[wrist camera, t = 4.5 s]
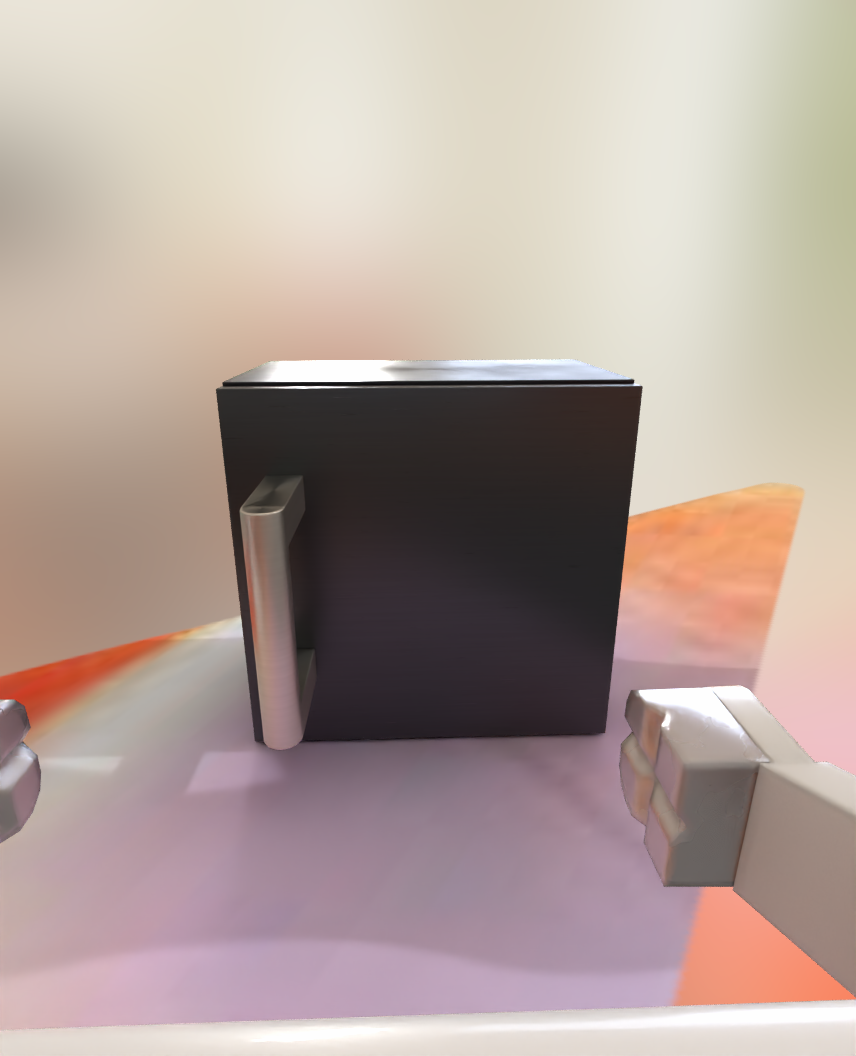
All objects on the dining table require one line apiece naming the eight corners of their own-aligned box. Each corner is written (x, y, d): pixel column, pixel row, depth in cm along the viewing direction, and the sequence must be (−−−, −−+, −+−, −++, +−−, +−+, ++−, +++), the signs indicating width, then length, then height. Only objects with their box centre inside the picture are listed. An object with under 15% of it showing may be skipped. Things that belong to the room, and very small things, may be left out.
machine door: (642, 811, 27) (698, 405, 22) (227, 824, 27) (170, 409, 21) (600, 723, 33) (636, 383, 27) (258, 731, 32) (220, 386, 27)
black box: (599, 722, 33) (634, 379, 28) (259, 731, 33) (222, 382, 27) (555, 630, 43) (575, 359, 37) (291, 635, 42) (269, 361, 36)
